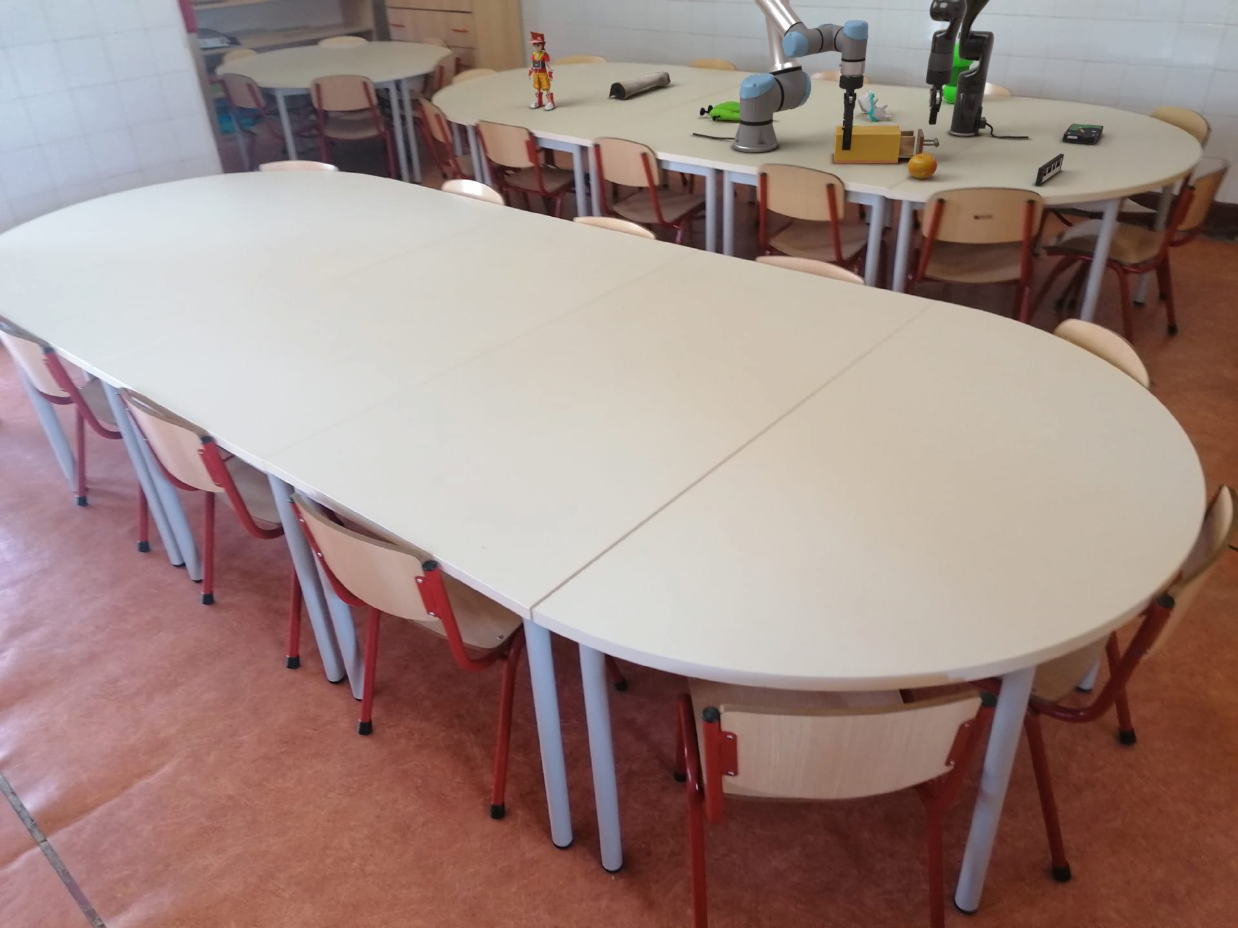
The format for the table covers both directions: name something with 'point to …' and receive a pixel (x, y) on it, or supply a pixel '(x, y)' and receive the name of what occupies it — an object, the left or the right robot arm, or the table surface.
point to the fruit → (922, 165)
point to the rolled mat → (638, 84)
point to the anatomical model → (872, 107)
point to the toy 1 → (541, 71)
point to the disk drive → (1083, 133)
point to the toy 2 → (723, 111)
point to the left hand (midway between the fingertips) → (845, 145)
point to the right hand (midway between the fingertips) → (932, 124)
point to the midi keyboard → (1049, 169)
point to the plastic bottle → (955, 75)
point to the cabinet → (869, 145)
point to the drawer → (913, 143)
